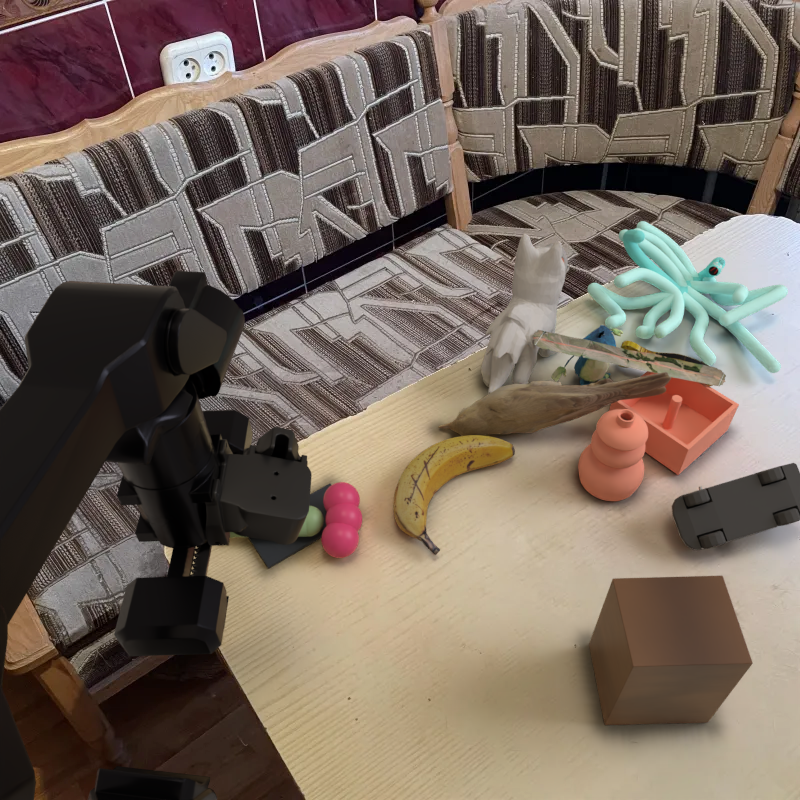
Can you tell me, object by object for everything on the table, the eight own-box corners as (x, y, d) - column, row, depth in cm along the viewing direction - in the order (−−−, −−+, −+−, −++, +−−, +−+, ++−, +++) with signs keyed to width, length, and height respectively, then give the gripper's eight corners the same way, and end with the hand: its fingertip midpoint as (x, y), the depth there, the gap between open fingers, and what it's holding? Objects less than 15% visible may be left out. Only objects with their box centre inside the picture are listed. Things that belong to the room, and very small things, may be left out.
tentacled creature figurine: (629, 201, 84) (692, 174, 96) (554, 279, 94) (620, 246, 106) (786, 373, 80) (831, 322, 92) (690, 436, 90) (742, 383, 102)
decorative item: (613, 365, 90) (622, 342, 85) (615, 359, 90) (624, 336, 85) (709, 394, 87) (723, 373, 83) (710, 388, 87) (724, 366, 83)
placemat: (268, 569, 72) (268, 566, 72) (244, 533, 75) (244, 530, 75) (356, 517, 76) (356, 515, 76) (330, 485, 79) (330, 482, 79)
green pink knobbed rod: (210, 565, 73) (201, 552, 70) (219, 493, 77) (211, 477, 74) (362, 562, 73) (360, 549, 70) (364, 490, 77) (361, 475, 74)
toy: (578, 320, 95) (587, 217, 84) (516, 423, 84) (518, 319, 73) (530, 308, 97) (534, 206, 87) (465, 405, 87) (459, 303, 76)
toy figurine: (570, 414, 85) (581, 366, 79) (542, 394, 87) (550, 346, 81) (636, 363, 90) (650, 315, 84) (608, 345, 92) (620, 297, 87)
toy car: (695, 556, 69) (675, 556, 74) (825, 516, 70) (798, 519, 75) (672, 495, 70) (655, 499, 75) (801, 456, 71) (775, 463, 76)
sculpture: (665, 380, 81) (677, 410, 77) (446, 434, 87) (447, 465, 83) (657, 334, 78) (669, 364, 74) (429, 395, 84) (429, 425, 80)
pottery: (655, 384, 88) (675, 320, 80) (727, 430, 83) (756, 366, 75) (551, 467, 80) (564, 404, 72) (624, 523, 75) (646, 462, 68)
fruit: (433, 562, 72) (433, 545, 70) (368, 507, 77) (367, 489, 75) (533, 470, 80) (536, 452, 77) (469, 425, 84) (470, 406, 82)
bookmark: (533, 330, 82) (535, 327, 82) (722, 370, 83) (724, 367, 82) (532, 348, 81) (533, 345, 80) (725, 389, 81) (727, 386, 81)
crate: (604, 725, 62) (632, 666, 53) (588, 643, 67) (612, 578, 58) (708, 722, 62) (753, 663, 53) (685, 641, 67) (722, 575, 58)
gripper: (282, 582, 41) (312, 699, 52) (304, 348, 54) (325, 483, 65) (76, 588, 41) (151, 704, 52) (148, 353, 54) (195, 486, 65)
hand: (215, 582), depth 59 cm, fingers open, 9 cm apart
